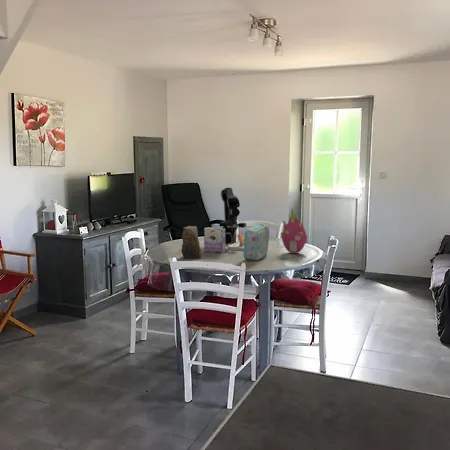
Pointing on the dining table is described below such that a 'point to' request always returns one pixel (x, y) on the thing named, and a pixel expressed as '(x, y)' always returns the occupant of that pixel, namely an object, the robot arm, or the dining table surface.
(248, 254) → the lunch box
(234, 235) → the far post
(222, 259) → the dining table surface
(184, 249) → the owl
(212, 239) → the candy box
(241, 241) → the block
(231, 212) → the robot arm
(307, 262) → the dining table surface
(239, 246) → the panel
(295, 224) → the pink dragon fruit
